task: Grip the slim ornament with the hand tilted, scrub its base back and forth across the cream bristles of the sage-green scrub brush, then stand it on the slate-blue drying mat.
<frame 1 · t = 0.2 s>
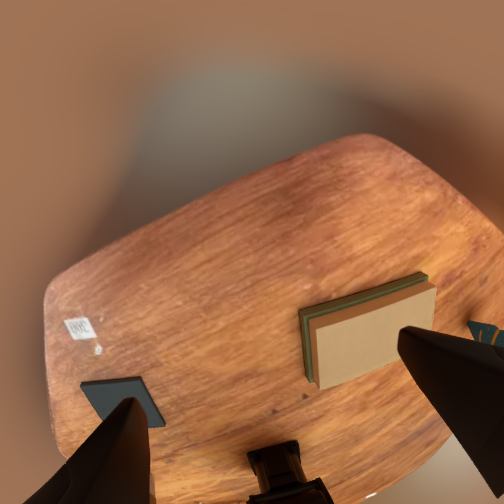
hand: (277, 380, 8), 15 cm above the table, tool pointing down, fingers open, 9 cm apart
coffee cup: (133, 474, 28), on the table
drying mat: (123, 404, 24), on the table
ornament: (467, 323, 31), on the table
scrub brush: (367, 325, 27), on the table
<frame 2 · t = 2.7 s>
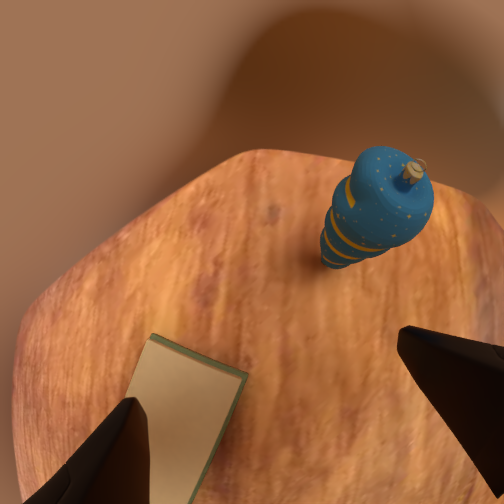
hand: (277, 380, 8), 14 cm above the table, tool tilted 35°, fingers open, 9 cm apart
ornament: (326, 262, 25), on the table
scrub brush: (170, 428, 19), on the table
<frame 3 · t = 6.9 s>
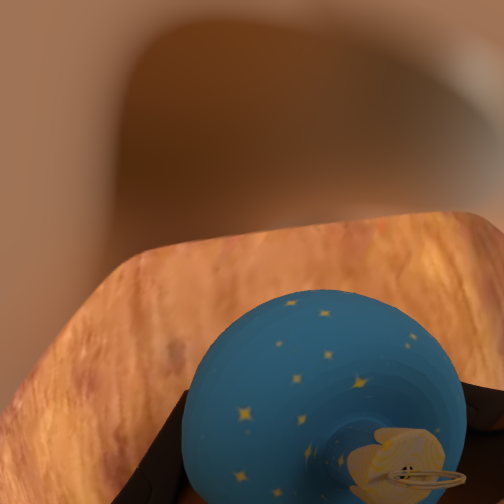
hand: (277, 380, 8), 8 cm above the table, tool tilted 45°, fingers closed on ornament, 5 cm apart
ornament: (270, 410, 14), on the table, touching gripper
when the fingers open (8 cm above the table, at t = 23.0 s): ornament stays where it is, resting on drying mat.
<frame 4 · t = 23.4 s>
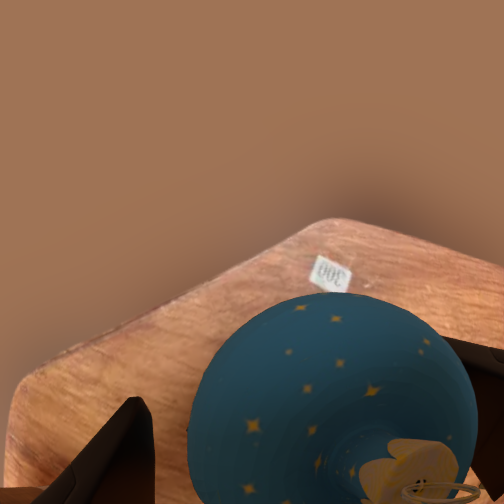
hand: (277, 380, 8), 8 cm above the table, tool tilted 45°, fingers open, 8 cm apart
ornament: (276, 409, 14), resting on drying mat
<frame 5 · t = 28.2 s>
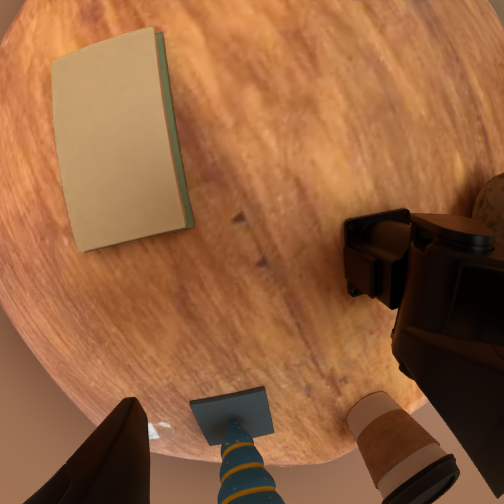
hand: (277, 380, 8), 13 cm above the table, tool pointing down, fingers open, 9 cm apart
coffee cup: (367, 408, 29), on the table
decorative egg: (477, 213, 24), on the table
drying mat: (234, 417, 25), on the table
ornament: (232, 419, 24), resting on drying mat
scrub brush: (119, 138, 17), on the table
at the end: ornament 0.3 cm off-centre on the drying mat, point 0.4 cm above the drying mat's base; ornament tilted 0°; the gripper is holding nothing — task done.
